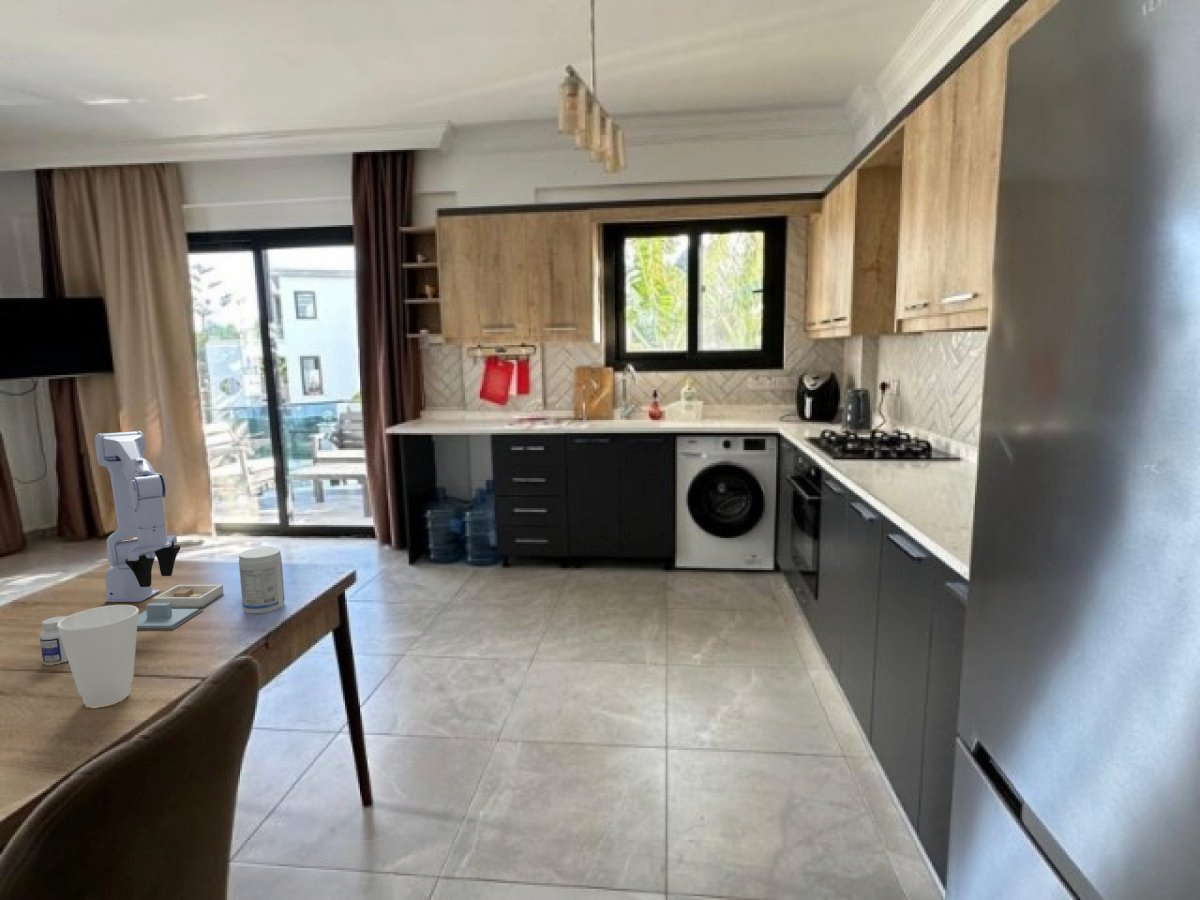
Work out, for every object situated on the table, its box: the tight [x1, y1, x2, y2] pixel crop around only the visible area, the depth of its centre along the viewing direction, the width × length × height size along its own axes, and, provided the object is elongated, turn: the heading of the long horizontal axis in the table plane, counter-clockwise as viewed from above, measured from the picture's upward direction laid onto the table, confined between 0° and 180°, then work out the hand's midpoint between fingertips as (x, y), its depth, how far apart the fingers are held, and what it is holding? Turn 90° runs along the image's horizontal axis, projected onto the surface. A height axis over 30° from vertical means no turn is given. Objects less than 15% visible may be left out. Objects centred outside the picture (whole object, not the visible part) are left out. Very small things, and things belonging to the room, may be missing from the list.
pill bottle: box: [39, 615, 68, 666], centre depth 135 cm, size 5×5×9 cm
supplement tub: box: [238, 546, 286, 615], centre depth 163 cm, size 10×10×15 cm
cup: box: [57, 604, 140, 706], centre depth 119 cm, size 12×12×16 cm
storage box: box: [152, 584, 224, 609], centre depth 169 cm, size 12×10×3 cm
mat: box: [137, 609, 204, 631], centre depth 156 cm, size 14×12×1 cm
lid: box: [137, 602, 200, 628], centre depth 156 cm, size 12×10×4 cm
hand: (156, 581), depth 155 cm, fingers open, 7 cm apart
